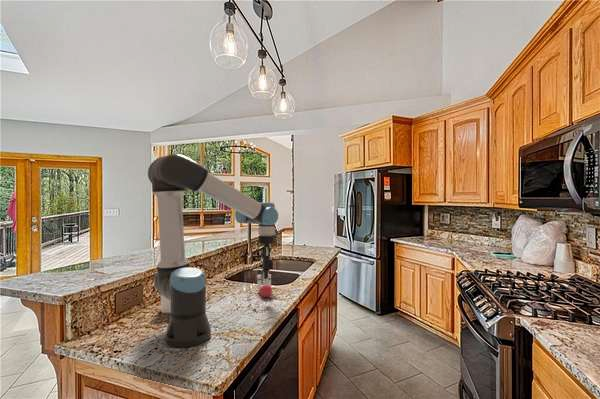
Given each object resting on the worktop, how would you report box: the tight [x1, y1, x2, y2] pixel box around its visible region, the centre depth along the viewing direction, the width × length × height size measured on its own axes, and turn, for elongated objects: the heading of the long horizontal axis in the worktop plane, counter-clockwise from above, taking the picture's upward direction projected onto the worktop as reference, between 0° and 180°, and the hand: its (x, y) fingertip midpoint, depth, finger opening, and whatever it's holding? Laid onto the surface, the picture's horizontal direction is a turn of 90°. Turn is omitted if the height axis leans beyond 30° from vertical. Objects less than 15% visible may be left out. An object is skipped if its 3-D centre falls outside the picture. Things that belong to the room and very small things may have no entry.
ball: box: [259, 284, 273, 298], centre depth 152 cm, size 6×6×6 cm
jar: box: [160, 294, 171, 314], centre depth 135 cm, size 9×8×12 cm
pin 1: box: [256, 274, 262, 294], centre depth 160 cm, size 2×2×9 cm
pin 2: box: [269, 273, 272, 288], centre depth 161 cm, size 2×2×9 cm
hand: (265, 284), depth 146 cm, fingers closed
